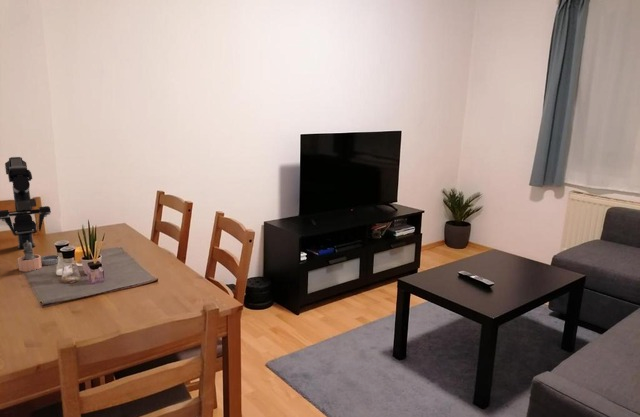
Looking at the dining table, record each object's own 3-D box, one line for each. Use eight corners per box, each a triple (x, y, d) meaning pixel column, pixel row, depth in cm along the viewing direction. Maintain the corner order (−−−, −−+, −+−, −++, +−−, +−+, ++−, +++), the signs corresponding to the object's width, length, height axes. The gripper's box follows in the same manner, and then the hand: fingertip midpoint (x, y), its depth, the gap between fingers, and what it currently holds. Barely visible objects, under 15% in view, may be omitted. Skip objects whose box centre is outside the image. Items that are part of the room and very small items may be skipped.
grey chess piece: (42, 266, 190) (38, 238, 187) (32, 271, 184) (28, 242, 182) (28, 265, 190) (25, 237, 188) (18, 270, 185) (14, 241, 182)
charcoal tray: (36, 261, 195) (36, 257, 194) (56, 257, 200) (56, 253, 200) (43, 266, 190) (42, 262, 189) (63, 261, 195) (63, 257, 195)
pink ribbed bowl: (18, 267, 188) (17, 256, 187) (40, 263, 193) (39, 253, 192) (19, 272, 182) (18, 262, 181) (42, 269, 187) (41, 258, 186)
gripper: (-6, 194, 180) (-1, 233, 179) (48, 190, 191) (54, 227, 189) (-5, 200, 189) (0, 237, 188) (47, 196, 200) (52, 231, 199)
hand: (27, 233), depth 191 cm, fingers open, 9 cm apart
